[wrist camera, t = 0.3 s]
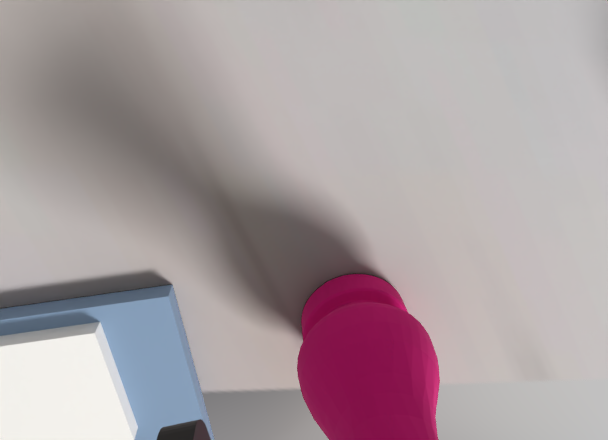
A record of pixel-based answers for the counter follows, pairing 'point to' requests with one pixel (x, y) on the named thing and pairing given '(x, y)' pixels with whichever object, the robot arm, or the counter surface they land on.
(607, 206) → the counter surface
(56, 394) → the board
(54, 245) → the counter surface
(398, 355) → the pepper mill
